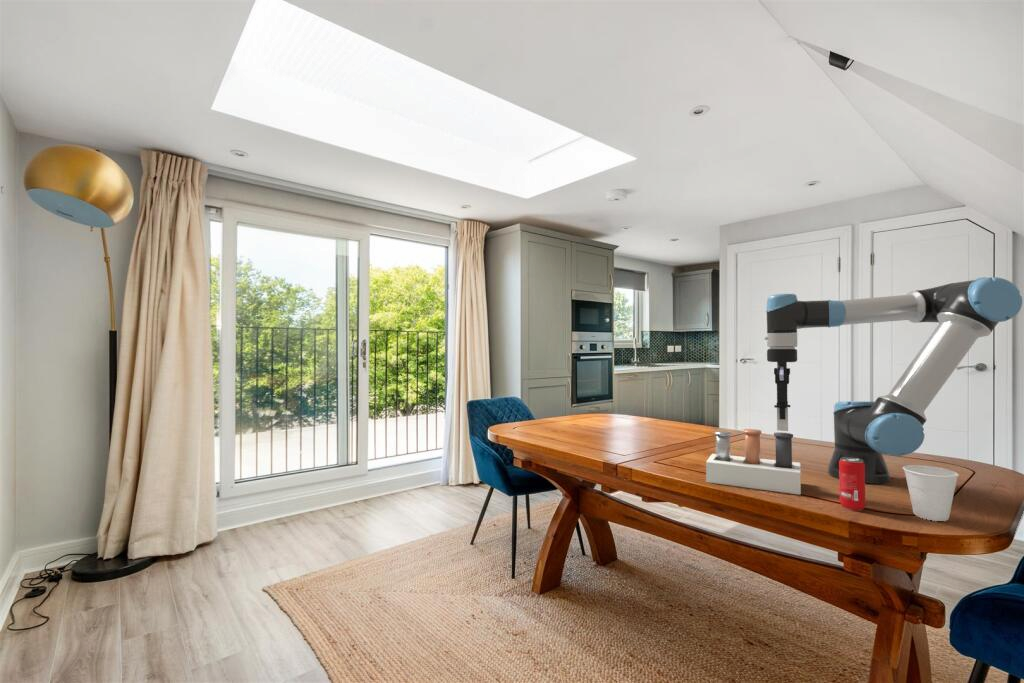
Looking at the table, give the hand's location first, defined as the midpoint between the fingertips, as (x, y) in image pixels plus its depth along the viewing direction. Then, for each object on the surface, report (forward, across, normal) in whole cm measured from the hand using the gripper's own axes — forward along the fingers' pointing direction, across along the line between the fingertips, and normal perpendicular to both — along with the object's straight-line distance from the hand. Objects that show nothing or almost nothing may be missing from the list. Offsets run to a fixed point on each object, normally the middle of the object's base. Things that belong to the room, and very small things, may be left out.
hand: (782, 430), depth 134 cm
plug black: (+11, 0, 0) cm, 11 cm away
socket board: (+16, 0, -8) cm, 18 cm away
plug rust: (+10, 0, -8) cm, 13 cm away
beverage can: (+16, +11, +15) cm, 25 cm away
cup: (+16, +10, +30) cm, 36 cm away
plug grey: (+12, 0, -16) cm, 20 cm away
